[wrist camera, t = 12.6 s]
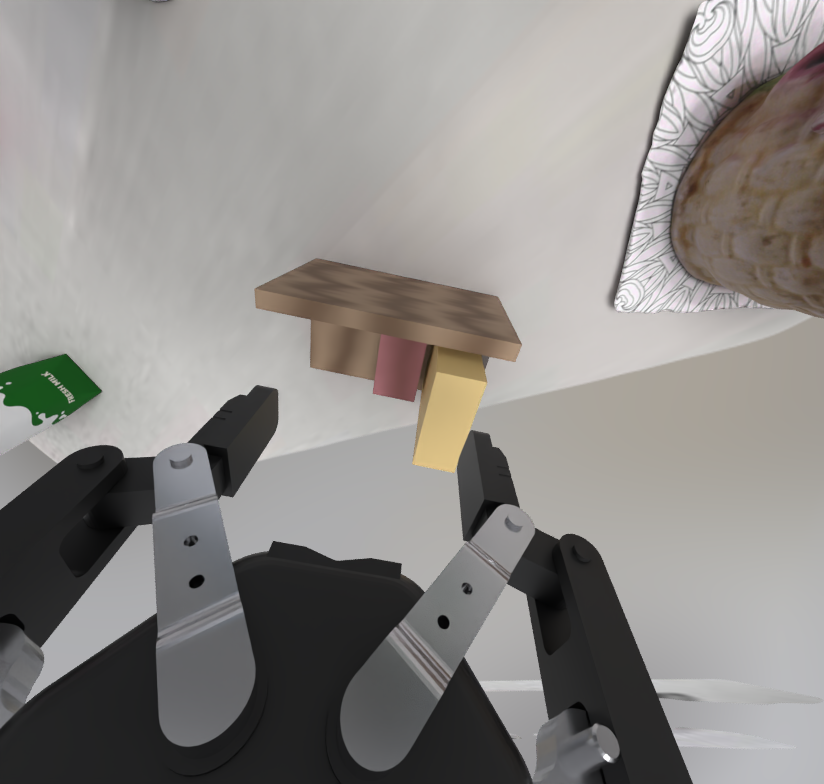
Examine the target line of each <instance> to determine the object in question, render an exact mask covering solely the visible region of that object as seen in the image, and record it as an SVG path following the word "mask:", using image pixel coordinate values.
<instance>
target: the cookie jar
mask: <svg viewBox="0 0 824 784" xmlns="http://www.w3.org/2000/svg"><path fill="white" fill-rule="evenodd" d="M641 175H642V179H643V180H642V184H641V192H640V197H639V202H638V206H637V210H636V214H635V218H634V222H633V227H632V231H631V235H630V239H629V244H628V248H627V253H626V257H625V262H624V266H623V269H622V274H621V278H620V282H619V286H618V290H617V294H616V297H615V302H614V306H615V309H616V311H618V312H626V313H634V312H642V313H645V314H646V313H654V314H655V313H658V312H660V311H672V312H676V313H680V312H684V313H688V312H701V311H708V310H715V309H732V308H739V307H751V308H767V309H773V308H776V309H789V310H796V311H799V312H802V313H805V314H808V315H812V316H815V317H819V318H824V0H707V1H705V2H703V3H702V4H700V5H699V8H698V12H697V15H696V19H695V22H694V25H693V28H692V30H691V33H690V36H689V38H688V41H687V44H686V47H685V50H684V52H683V55H682V58H681V61H680V62H679V64H678V66H677V68H676V70H675V72H674V75H673V77H672V79H671V82H670V84H669V87H668V89H667V92H666V94H665V97H664V100H663V103H662V106H661V110H660V115H659V121H658V123H657V126H656V128H655V130H654V133H653V143H652V146H651V148H650V150H649V153H648V156H647V159H646V162H645V165H644V168H643V171H642V174H641Z"/></svg>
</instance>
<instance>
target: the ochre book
mask: <svg viewBox="0 0 824 784" xmlns="http://www.w3.org/2000/svg"><path fill="white" fill-rule="evenodd" d="M486 385H487V379H486V375H485V370H484V365H483V361H482V356H481V355H479V354H474V353H469V352H464V351H460V350H455V349H450V348H445V347H441V346H436V345H432V346H431V350H430V354H429V358H428V362H427V366H426V371H425V375H424V379H423V385H422V393H421V401H420V408H419V416H418V424H417V432H416V440H415V448H414V455H413V463H412V464H413V465H418V466H423V467H429V468H433V469H438V470H443V471H448V472H452V473H454V472H455V469H456V466H457V464H458V460H459V456H460V454H461V451H462V449H463V446H464V444H465V441H466V439H467V436H468V434H469V431H470V428H471V426H472V423H473V420H474V417H475V415H476V412H477V409H478V406H479V404H480V401H481V398H482V396H483V393H484V390H485V387H486Z"/></svg>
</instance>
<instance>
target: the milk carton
mask: <svg viewBox="0 0 824 784" xmlns="http://www.w3.org/2000/svg"><path fill="white" fill-rule="evenodd" d="M101 392H102V391H101V390H100V389H99V388H98V387H97V386H96V385H95V384H94V383H93V382H92V380H91V379H90V378H89V377H88V376H87V375H86V374H85V373H84V372H83V371H82V370H81V369H80V368H79V367H78V366H77V365H76V364H75V363H74V362H73V361H72V360H71V359H70V358H69V357H68V356H67V355H66V354H64V355H61V356H57V357H53V358H50V359H46V360H42V361H39V362H35V363H31V364H27V365H24V366H20V367H17V368H14V369H11V370H8V371H5V372H2V373H0V455H2V454H4V453H6V452H8V451H9V450H11V449H12V448H15V447H16V446H18V445H20V444H21V443H23V442H25V441H27V440H28V439H30V438H32V437H33V436H35V435H37V434H39V433H40V432H42V431H44V430H45V429H47V428H49V427H51V426H52V425H54V424H56V423H57V422H59V421H60V420H62V419H64V418H65V417H67V416H68V415H70V414H71V413H73V412H74V411H75V410H77V409H78V408H80V407H81V406H82V405H84V404H85V403H86V402H88V401H89V400H91V399H92V398H94V397H95V396H96V395H98V394H99V393H101Z"/></svg>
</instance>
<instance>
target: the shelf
mask: <svg viewBox="0 0 824 784" xmlns="http://www.w3.org/2000/svg"><path fill="white" fill-rule="evenodd" d="M255 302H256V308H258V309H263V310H268V311H273V312H277V313H282V314H287V315H292V316H297V317H301V318H306V319H311V354H310V367H311V368H316V369H321V370H326V371H331V372H335V373H340V374H345V375H350V376H355V377H360V378H365V379H369V380H374V388H373V394H377V395H382V396H387V397H392V398H397V399H402V400H406V401H411V402H414V399H415V395H416V391H417V389H418V390H422V385H423V379H424V375H425V371H426V366H427V362H428V358H429V354H430V350H431V346H432V345H436V346H441V347H445V348H450V349H455V350H460V351H464V352H469V353H474V354H479V355H481V356H482V361H483V365H484V370H485V368H486V365H487V362H488V359H489V357H493V358H498V359H503V360H508V361H512V362H515V361H516V358H517V356H518V353H519V351H520V348H521V346H522V344H521V342H520V340H519V338H518V336H517V334H516V332H515V330H514V328H513V326H512V324H511V322H510V320H509V318H508V316H507V314H506V312H505V310H504V308H503V306H502V304H501V302H500V300H499V298H498V297H496V296H492V295H487V294H482V293H478V292H473V291H468V290H463V289H459V288H454V287H449V286H445V285H440V284H435V283H430V282H426V281H421V280H416V279H411V278H407V277H402V276H397V275H393V274H388V273H383V272H378V271H374V270H369V269H364V268H360V267H355V266H350V265H345V264H341V263H336V262H331V261H326V260H322V259H317V258H316V259H314V260H312V261H310V262H308V263H306V264H304V265H302V266H300V267H298V268H296V269H294V270H292V271H290V272H288V273H286V274H284V275H282V276H279V277H277V278H275V279H273V280H271V281H269V282H267V283H265V284H263V285H261V286H259V287H257V288H255Z"/></svg>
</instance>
